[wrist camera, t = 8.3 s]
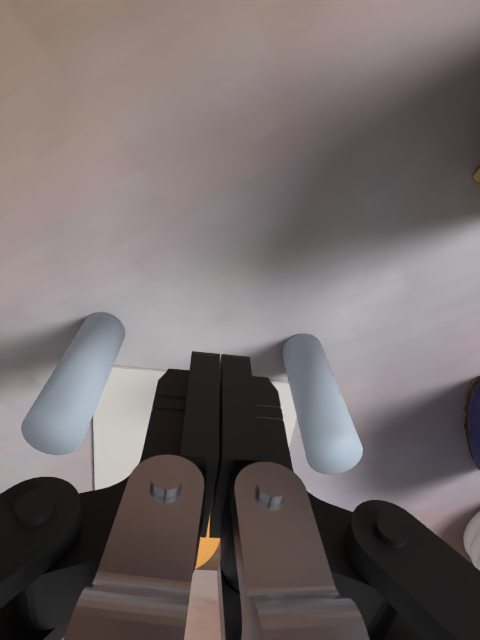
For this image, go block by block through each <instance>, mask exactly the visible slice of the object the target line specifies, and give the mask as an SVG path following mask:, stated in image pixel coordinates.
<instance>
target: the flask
mask: <svg viewBox="0 0 480 640" xmlns="http://www.w3.org/2000/svg"><path fill="white" fill-rule="evenodd" d="M464 410H465V411H464V422H465V424H464V426H465V427H464V428H465V429H466V436H467V441H468V444H469V447H468V448H469V451H470V454H471V456H472V459H473V460H474V462H475V464H476V466H477V467H478V469H479V470H480V376H478V377H477V378H475V379H473V380H472V383H471V384H470V385H469V386H468V391H467V393H466V399H465V407H464Z"/></svg>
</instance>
